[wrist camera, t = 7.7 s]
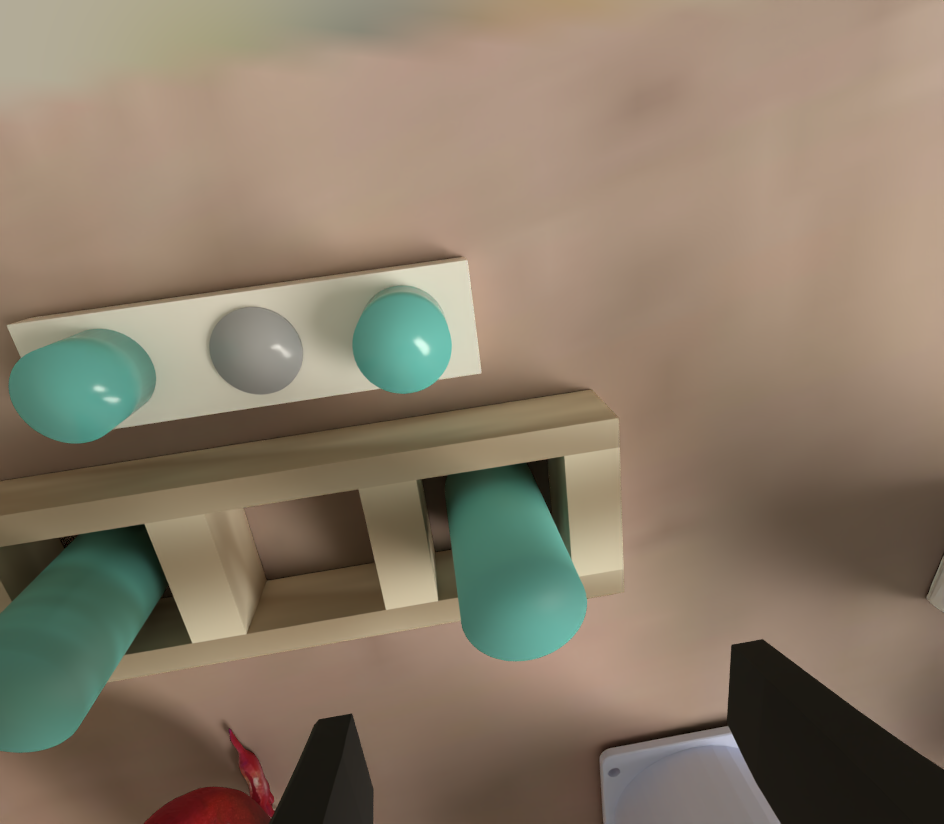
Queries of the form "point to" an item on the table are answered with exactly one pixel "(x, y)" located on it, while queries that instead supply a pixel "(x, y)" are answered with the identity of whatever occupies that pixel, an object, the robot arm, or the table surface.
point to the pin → (511, 565)
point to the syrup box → (937, 588)
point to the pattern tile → (244, 349)
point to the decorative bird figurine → (223, 799)
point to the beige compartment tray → (236, 558)
